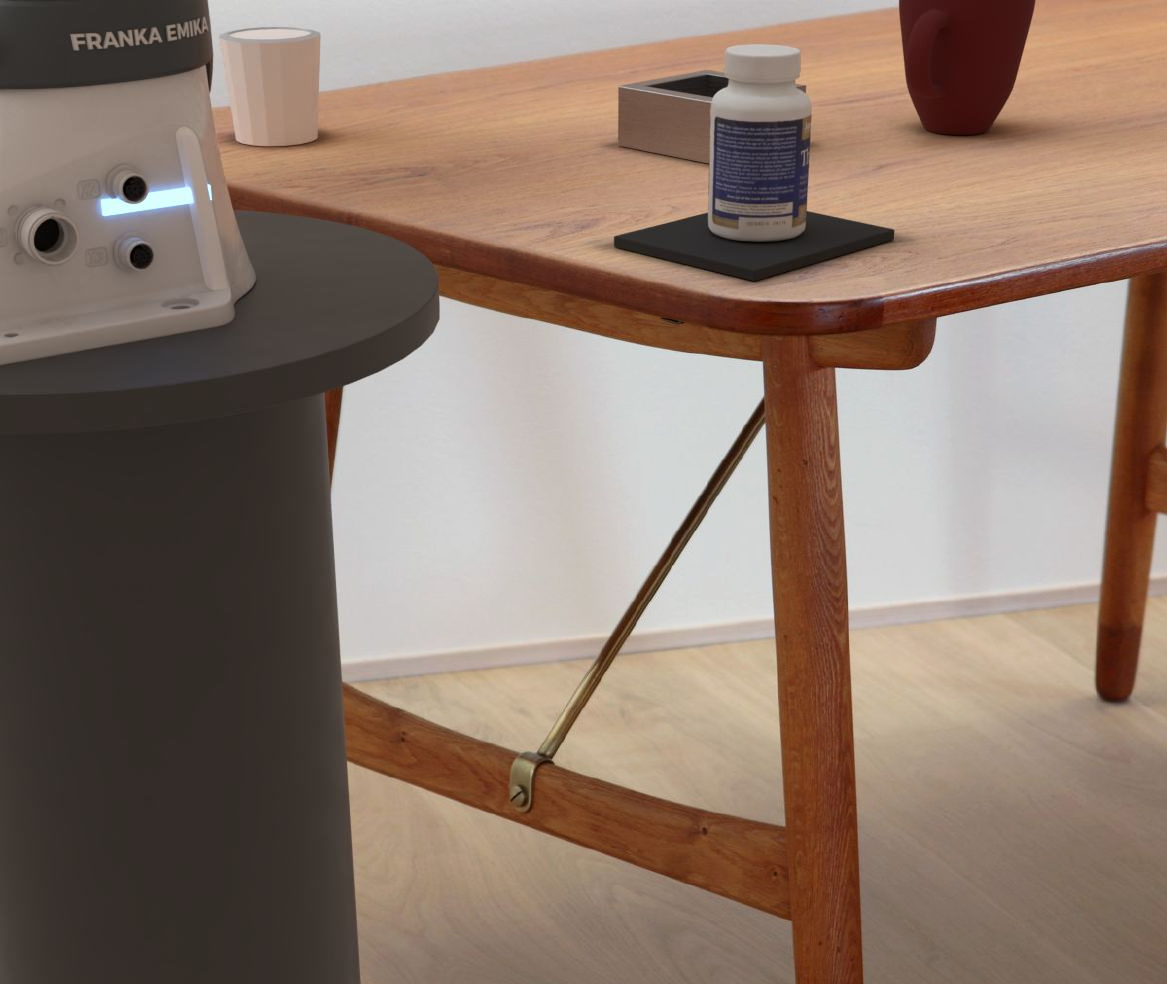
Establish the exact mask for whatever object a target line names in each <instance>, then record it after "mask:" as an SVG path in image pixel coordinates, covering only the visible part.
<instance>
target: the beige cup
mask: <svg viewBox="0 0 1167 984" xmlns="http://www.w3.org/2000/svg"><path fill="white" fill-rule="evenodd" d="M218 36H219V37H218V40H219V47H220V52H221V59H222V64H223V70H224V76H225V82H226V83H225V84H226V88H227V89H226V90H227V94H228V100H229V101H228V102H229V107H230V112H231V119H232V123H233V132H234V136H235V137H234V138H235V141H236V142H238V143H240V144H243V145H248V146H255V147H257V146H258V147H286V146H287V147H288V146H296V145H303V144H307V143H311V142H314V141H315V140H317V139H319V138H318V137H319V136H318V135H319V133H318V132H319V104H320V103H319V101H320V100H319V99H320V67H321V64H320V63H321V32H320V31H316V30H313V29H307V28H299V27H289V26H287V27H286V26H265V27H264V26H263V27H262V26H261V27H260V26H259V27H247V28H242V29H236V30H231V31H226V32H223V33H220V34H219V35H218Z"/></svg>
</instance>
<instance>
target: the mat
mask: <svg viewBox="0 0 1167 984" xmlns="http://www.w3.org/2000/svg"><path fill="white" fill-rule="evenodd" d="M895 230H896V229H893V228H889V227H886V226H885V227H884V226H881V225H875V224H870V223H865V222H860V221H857V220H852V219H846V218H843V217H842V218H841V217H837V216H833V215H828V214H823V213H818V212H814V211H809V210H807V216H806V226H805V230H804V231H803V232H802V233H801V234H800V235H799V236H797V237H795V238H792V239H787V240H780V241H768V242H751V241H737V240H730V239H726V238H723V237H720V236H718V235H715V234H714V233H713V232H711V230H710V229H709V226H708V212H705V213H700V214H696V215H693V216H688V217H685V218H681V219H677V220H673V221H669V222H664V223H662V224H657V225H654V226H653V225H652V226H650V227H646V228H642V229H641V228H640V229H638V230H634V231H630V232H626V233H621V234H618V235H614V236H613V247H615V248H617V249H622V250H625V251H630V252H635V253H638V254H642V255H647V256H651V257H655V258H658V259H662V260H667V261H670V262H675V263H678V264H682V265H686V266H691V267H694V268H698V269H703V270H707V271H710V272H714V273H719V274H723V275H727V276H731V277H736V278H738V279H744V280H747V281H751V282H756V281H760V280H763V279H766V278H770V277H773V276H777V275H780V274H783V273H786V272H790V271H793V270H797V269H800V268H803V267H807V266H811V265H814V264H816V263H820V262H824V261H827V260H831V259H833V258H837V257H840V256H844V255H847V254H850V253H853V252H857V251H861V250H864V249H867V248H870V247H873V246H877V245H880V244H883V243H888V242H890V241H894V239H895Z"/></svg>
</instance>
